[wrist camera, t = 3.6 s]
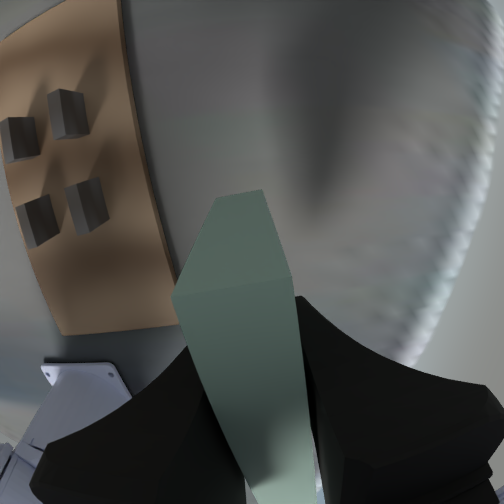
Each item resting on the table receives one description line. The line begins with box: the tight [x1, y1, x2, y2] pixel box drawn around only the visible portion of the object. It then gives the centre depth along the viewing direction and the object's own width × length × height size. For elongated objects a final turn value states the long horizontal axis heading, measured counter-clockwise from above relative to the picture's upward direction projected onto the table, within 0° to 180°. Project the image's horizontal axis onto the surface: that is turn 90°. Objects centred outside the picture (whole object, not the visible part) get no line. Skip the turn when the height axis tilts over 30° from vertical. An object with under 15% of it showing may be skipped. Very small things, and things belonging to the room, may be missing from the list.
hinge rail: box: [0, 0, 179, 336], centre depth 14 cm, size 22×10×3 cm, turn 10°
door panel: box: [171, 190, 317, 504], centre depth 9 cm, size 8×2×7 cm, turn 11°
